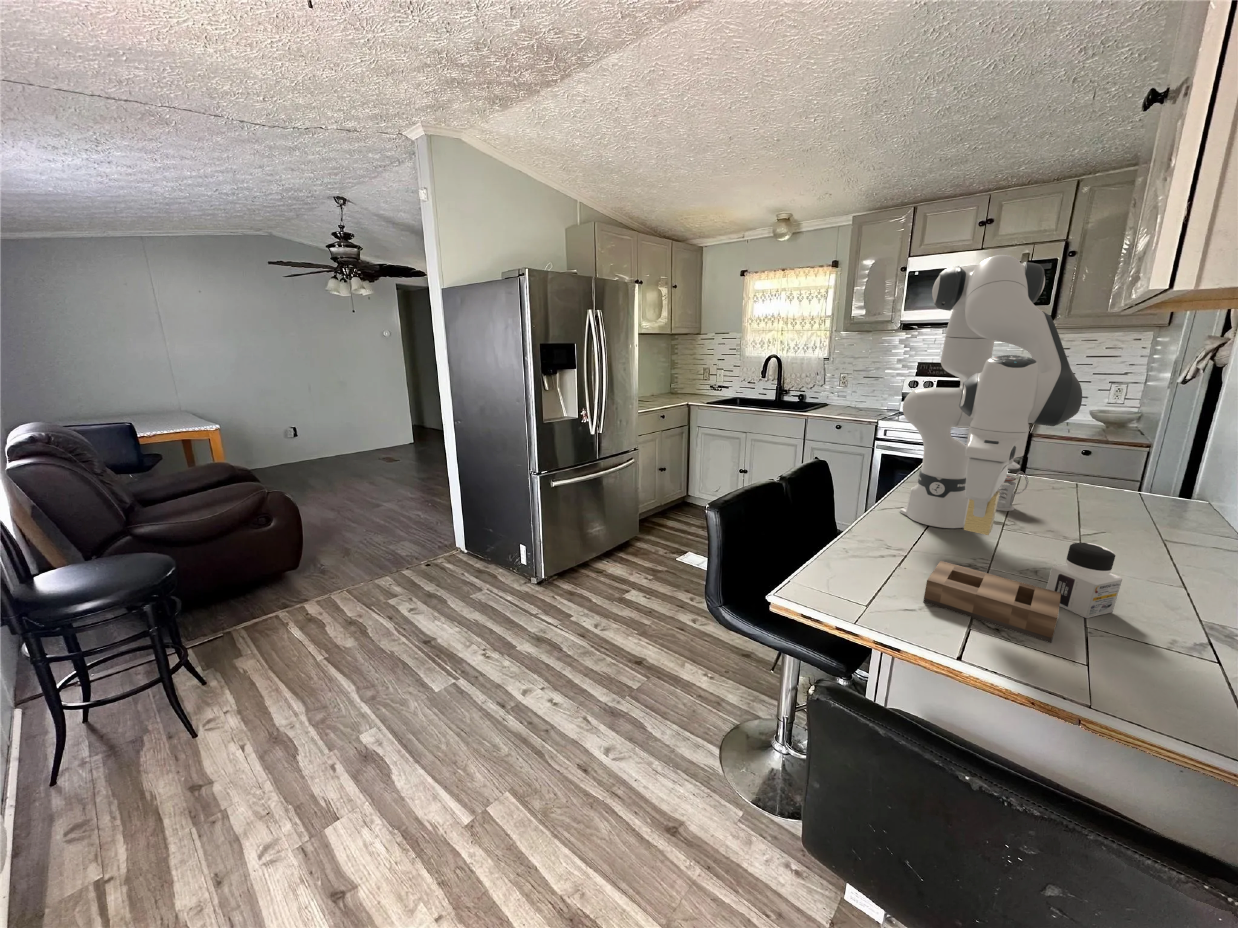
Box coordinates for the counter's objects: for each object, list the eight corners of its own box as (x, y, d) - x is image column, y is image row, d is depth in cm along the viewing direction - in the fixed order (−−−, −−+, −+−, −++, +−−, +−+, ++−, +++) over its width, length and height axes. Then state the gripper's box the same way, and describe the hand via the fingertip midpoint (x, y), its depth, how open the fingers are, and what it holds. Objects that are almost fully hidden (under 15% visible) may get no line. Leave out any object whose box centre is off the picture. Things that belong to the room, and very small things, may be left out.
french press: (981, 498, 163) (996, 425, 157) (1025, 507, 154) (1042, 430, 148) (972, 504, 157) (987, 429, 151) (1017, 514, 148) (1035, 434, 142)
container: (1086, 619, 94) (1103, 557, 90) (1042, 598, 101) (1057, 541, 98) (1113, 612, 96) (1131, 552, 92) (1068, 593, 103) (1083, 536, 100)
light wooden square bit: (967, 524, 99) (975, 487, 97) (992, 529, 96) (1000, 491, 94) (963, 529, 96) (971, 491, 94) (988, 535, 93) (996, 495, 91)
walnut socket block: (936, 581, 108) (940, 560, 107) (1055, 615, 95) (1061, 592, 93) (923, 601, 100) (927, 579, 98) (1051, 642, 86) (1057, 618, 85)
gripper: (984, 434, 101) (972, 497, 104) (964, 449, 87) (950, 521, 90) (1023, 438, 97) (1009, 503, 100) (1008, 454, 82) (992, 530, 86)
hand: (981, 512), depth 95 cm, fingers closed on light wooden square bit, 4 cm apart
